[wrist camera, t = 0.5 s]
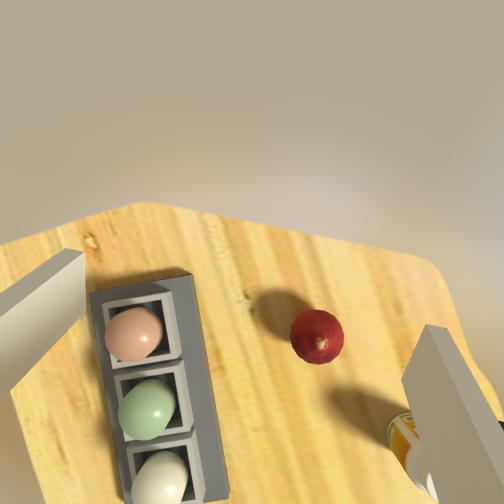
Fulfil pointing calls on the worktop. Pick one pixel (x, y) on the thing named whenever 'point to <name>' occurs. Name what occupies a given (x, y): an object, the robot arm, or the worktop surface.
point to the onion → (317, 337)
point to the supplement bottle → (410, 452)
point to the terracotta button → (133, 334)
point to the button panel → (173, 374)
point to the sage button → (147, 409)
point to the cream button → (160, 480)
